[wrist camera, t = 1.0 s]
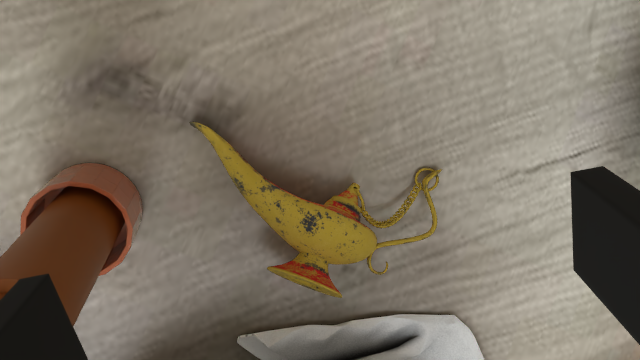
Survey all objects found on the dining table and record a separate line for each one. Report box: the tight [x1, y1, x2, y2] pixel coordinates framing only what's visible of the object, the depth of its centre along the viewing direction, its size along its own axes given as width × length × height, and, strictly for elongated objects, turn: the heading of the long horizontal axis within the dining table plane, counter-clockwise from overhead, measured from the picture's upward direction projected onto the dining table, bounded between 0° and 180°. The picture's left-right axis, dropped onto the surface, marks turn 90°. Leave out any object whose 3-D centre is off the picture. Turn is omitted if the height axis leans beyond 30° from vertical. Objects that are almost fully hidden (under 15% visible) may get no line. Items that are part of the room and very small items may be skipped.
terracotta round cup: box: [21, 163, 142, 276], centre depth 34 cm, size 6×6×4 cm
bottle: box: [0, 186, 125, 326], centre depth 27 cm, size 4×4×16 cm
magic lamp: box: [189, 122, 442, 298], centre depth 35 cm, size 7×18×11 cm
